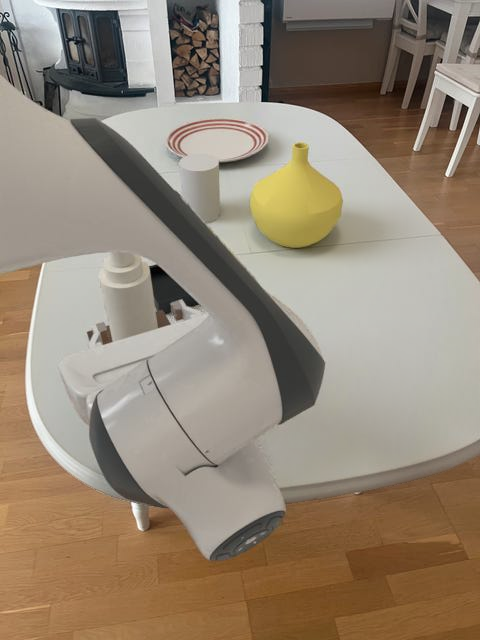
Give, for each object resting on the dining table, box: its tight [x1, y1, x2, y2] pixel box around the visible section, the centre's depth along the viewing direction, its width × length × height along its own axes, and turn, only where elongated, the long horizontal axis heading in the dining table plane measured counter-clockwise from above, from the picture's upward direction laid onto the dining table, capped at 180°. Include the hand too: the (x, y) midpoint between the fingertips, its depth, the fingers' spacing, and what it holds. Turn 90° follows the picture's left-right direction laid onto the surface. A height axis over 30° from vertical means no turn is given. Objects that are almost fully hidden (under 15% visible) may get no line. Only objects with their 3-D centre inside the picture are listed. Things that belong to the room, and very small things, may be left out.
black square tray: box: [148, 263, 200, 315], centre depth 93 cm, size 11×11×3 cm
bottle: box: [97, 252, 158, 342], centre depth 63 cm, size 6×6×18 cm
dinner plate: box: [164, 117, 270, 164], centre depth 139 cm, size 27×27×3 cm
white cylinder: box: [178, 154, 221, 224], centre depth 110 cm, size 8×8×12 cm
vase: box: [249, 141, 344, 249], centre depth 102 cm, size 18×18×19 cm
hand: (138, 316), depth 61 cm, fingers open, 8 cm apart
